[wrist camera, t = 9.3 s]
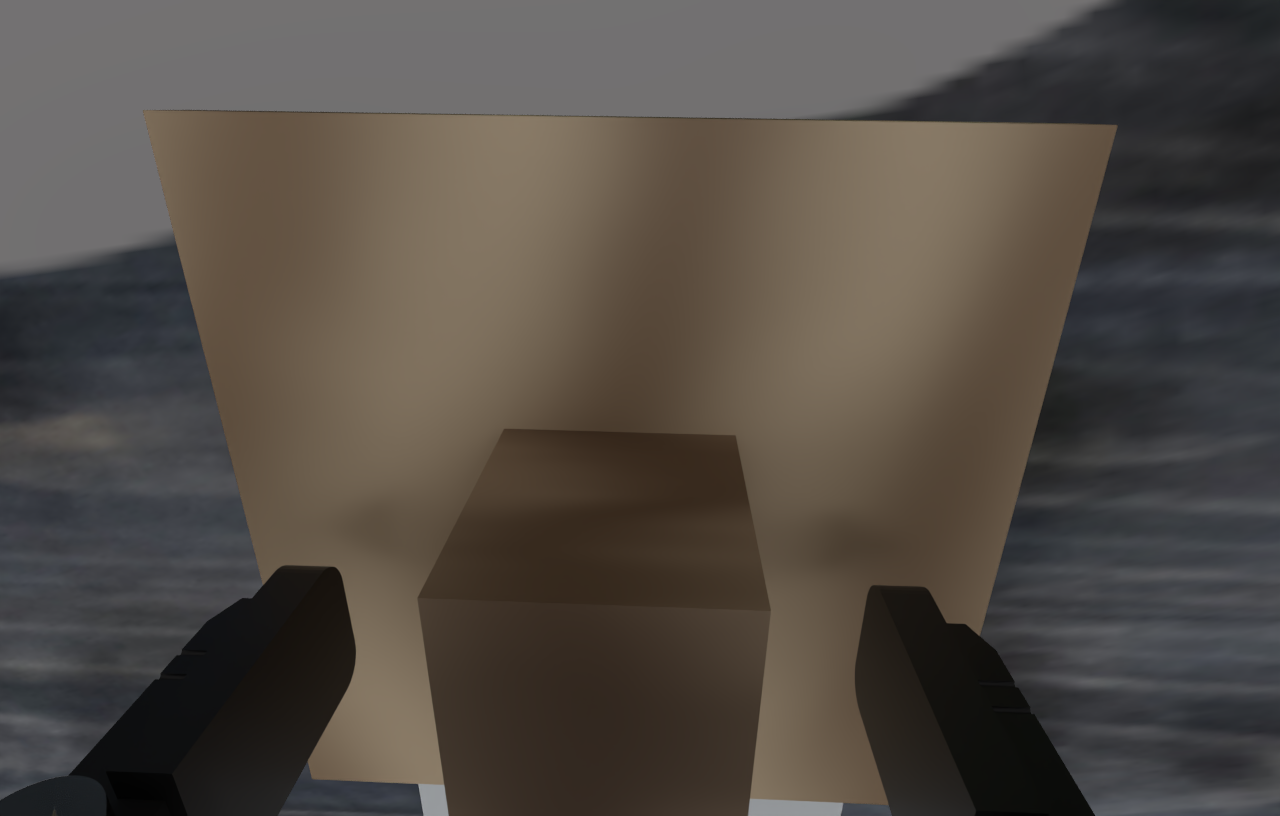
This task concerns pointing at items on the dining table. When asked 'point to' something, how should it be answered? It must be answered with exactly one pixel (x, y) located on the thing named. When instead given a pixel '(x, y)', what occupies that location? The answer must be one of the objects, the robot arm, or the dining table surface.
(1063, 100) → the dining table surface
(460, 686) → the lid
